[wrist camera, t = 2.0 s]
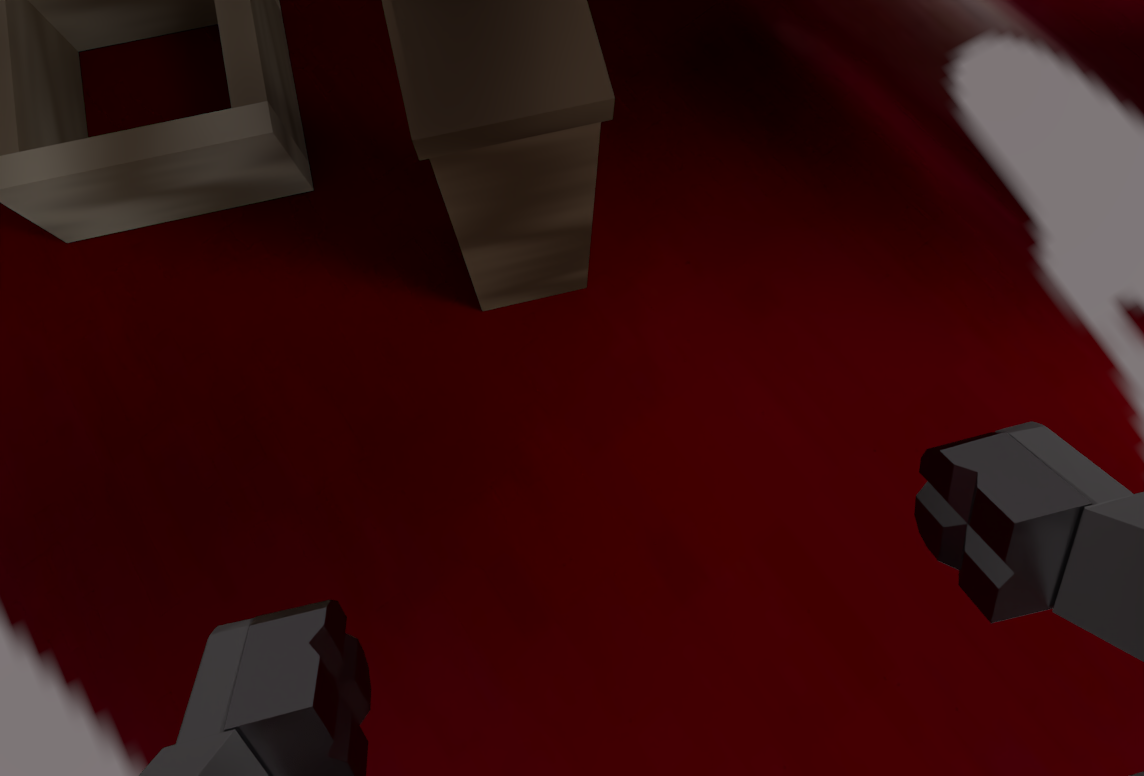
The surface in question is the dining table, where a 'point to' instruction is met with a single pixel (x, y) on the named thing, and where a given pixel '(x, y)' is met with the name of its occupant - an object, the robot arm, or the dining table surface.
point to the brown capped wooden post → (508, 132)
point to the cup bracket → (150, 153)
